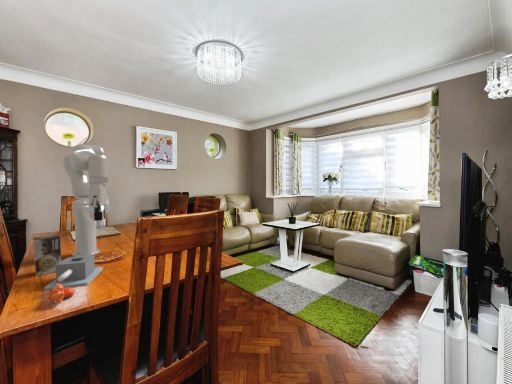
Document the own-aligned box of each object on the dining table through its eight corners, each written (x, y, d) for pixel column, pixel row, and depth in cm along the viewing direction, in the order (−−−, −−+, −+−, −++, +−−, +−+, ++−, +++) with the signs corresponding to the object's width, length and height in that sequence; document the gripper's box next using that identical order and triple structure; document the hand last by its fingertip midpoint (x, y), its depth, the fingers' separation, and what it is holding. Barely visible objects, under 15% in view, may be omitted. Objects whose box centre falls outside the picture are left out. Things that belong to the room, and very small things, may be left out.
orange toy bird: (50, 279, 83) (51, 291, 74) (75, 280, 88) (79, 291, 79) (44, 294, 82) (45, 307, 73) (70, 294, 87) (73, 306, 78)
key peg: (97, 227, 111) (96, 203, 110) (104, 227, 111) (104, 202, 111) (95, 229, 108) (94, 203, 107) (102, 228, 109) (101, 203, 108)
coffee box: (61, 267, 111) (59, 234, 111) (62, 270, 107) (60, 236, 106) (34, 272, 105) (33, 237, 104) (35, 276, 100) (33, 239, 100)
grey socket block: (67, 272, 105) (67, 254, 104) (103, 268, 109) (102, 252, 108) (37, 294, 84) (36, 273, 83) (83, 289, 88) (82, 268, 87)
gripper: (95, 181, 115) (96, 217, 116) (81, 181, 100) (83, 223, 100) (112, 181, 118) (113, 217, 118) (101, 181, 102) (103, 222, 103)
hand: (99, 219), depth 109 cm, fingers closed on key peg, 3 cm apart
